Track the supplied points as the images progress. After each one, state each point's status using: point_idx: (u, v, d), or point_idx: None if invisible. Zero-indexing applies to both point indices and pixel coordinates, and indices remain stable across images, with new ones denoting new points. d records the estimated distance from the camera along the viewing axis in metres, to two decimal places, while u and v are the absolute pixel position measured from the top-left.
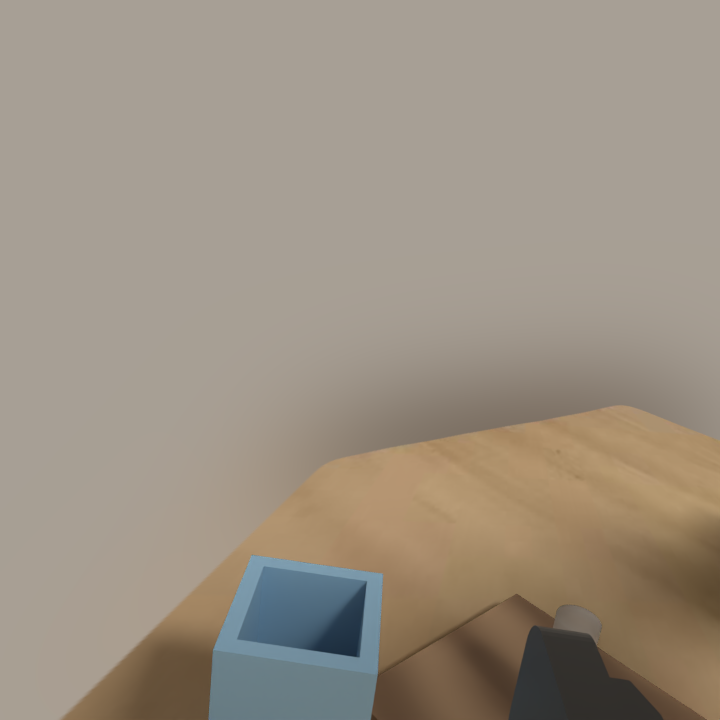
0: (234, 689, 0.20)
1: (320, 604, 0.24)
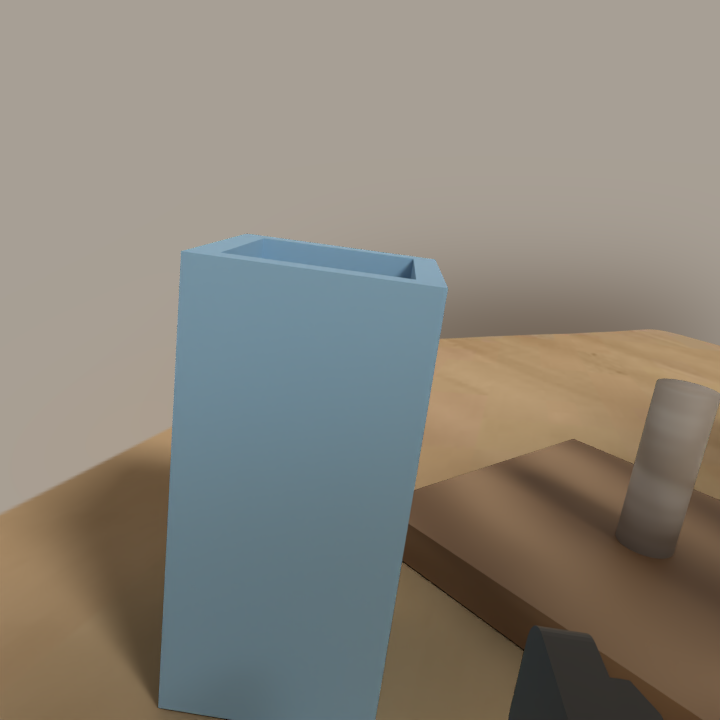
0: (215, 326, 0.12)
1: None
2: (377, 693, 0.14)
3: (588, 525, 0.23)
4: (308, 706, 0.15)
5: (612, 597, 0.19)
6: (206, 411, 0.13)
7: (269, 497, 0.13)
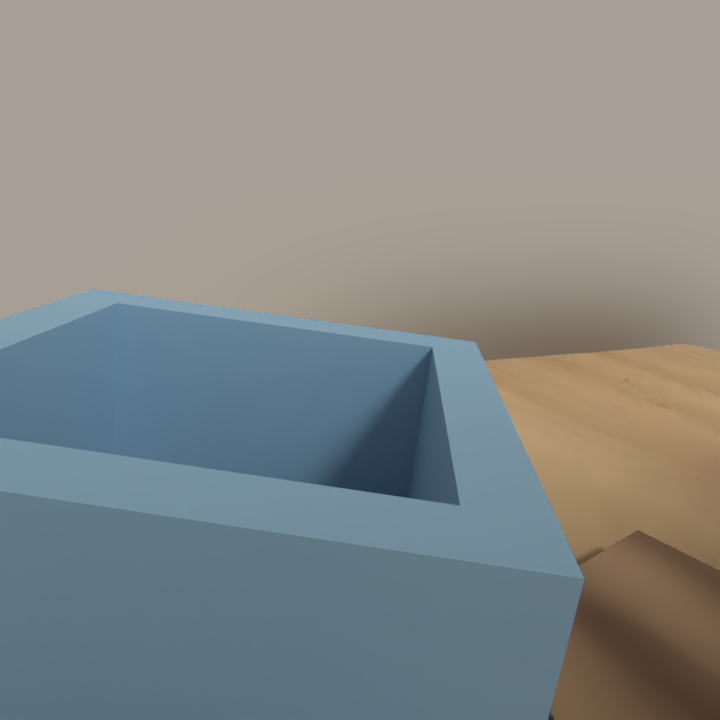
0: None
1: (290, 429, 0.08)
2: None
3: None
4: None
5: None
6: None
7: None
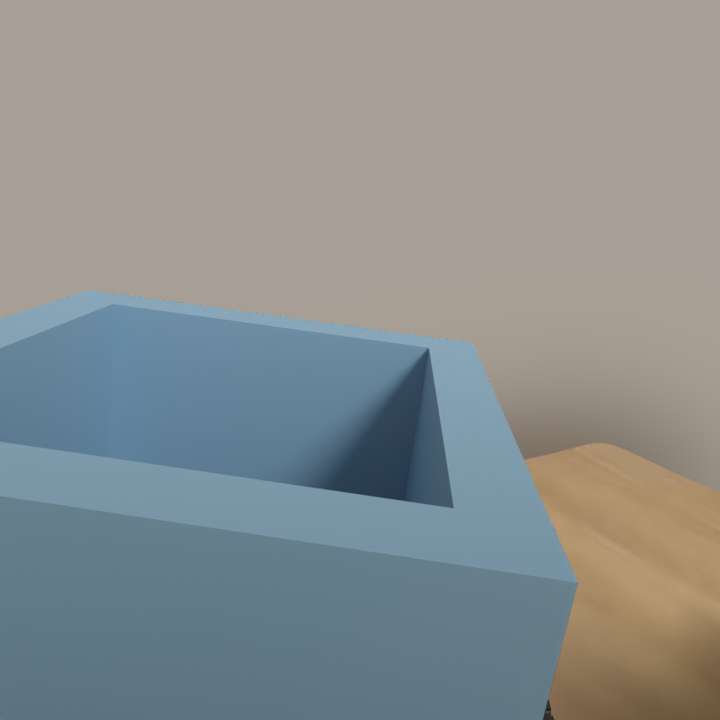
0: None
1: (287, 430, 0.08)
2: None
3: None
4: None
5: None
6: None
7: None
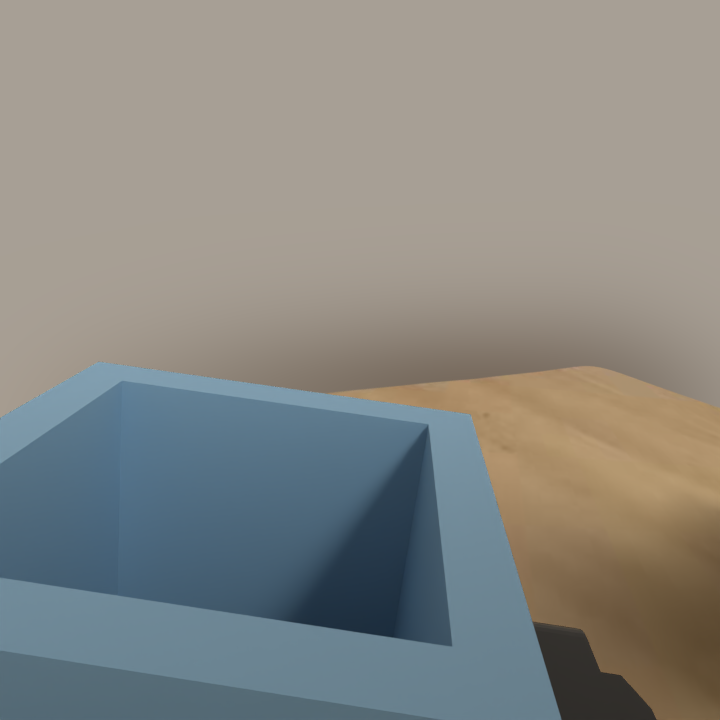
0: None
1: (290, 499, 0.08)
2: None
3: None
4: None
5: None
6: None
7: None
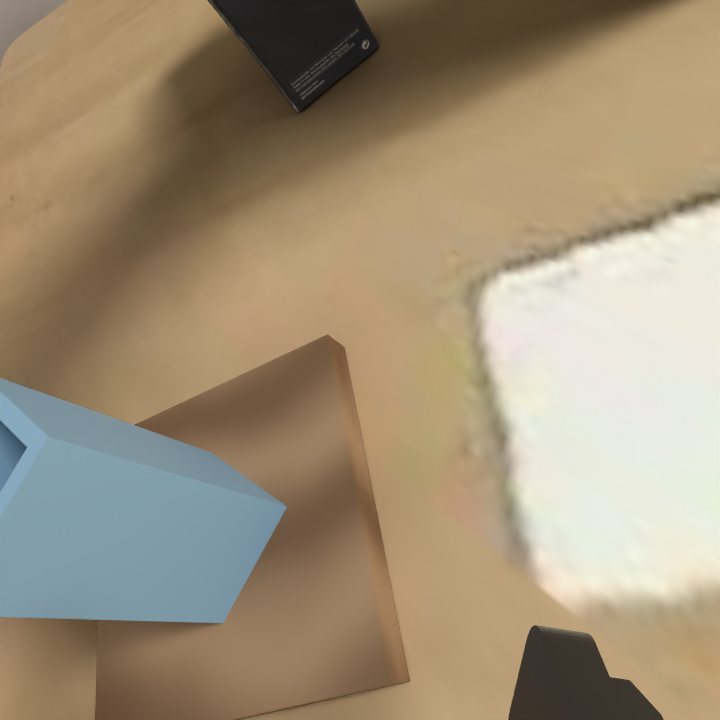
0: (8, 591, 0.17)
1: None
2: (265, 501, 0.24)
3: None
4: (255, 539, 0.25)
5: (242, 639, 0.24)
6: (64, 597, 0.19)
7: (134, 558, 0.20)
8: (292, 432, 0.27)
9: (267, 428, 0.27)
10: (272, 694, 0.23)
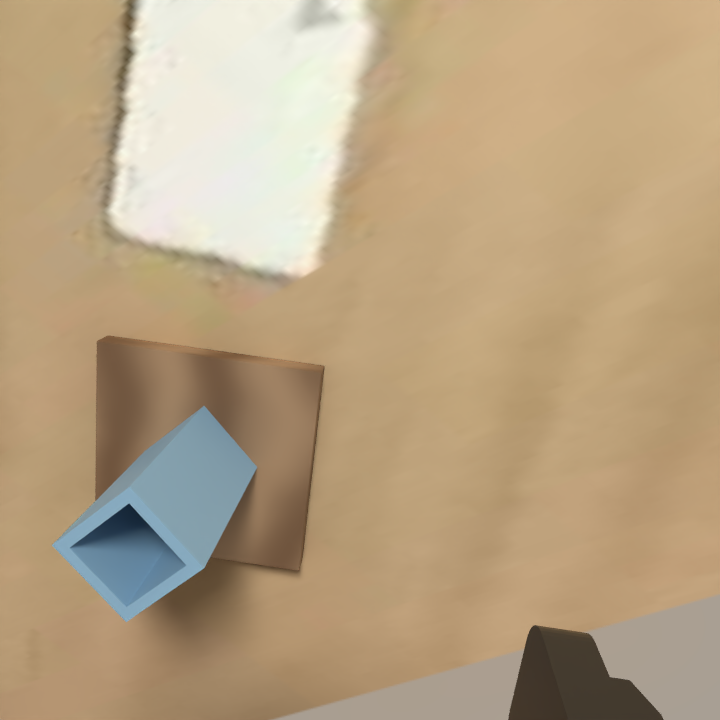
0: (202, 540, 0.30)
1: (106, 556, 0.31)
2: (197, 414, 0.37)
3: None
4: (217, 429, 0.38)
5: (270, 456, 0.40)
6: (214, 521, 0.32)
7: (206, 485, 0.34)
8: (157, 387, 0.39)
9: (145, 404, 0.39)
10: (305, 444, 0.39)
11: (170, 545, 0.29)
